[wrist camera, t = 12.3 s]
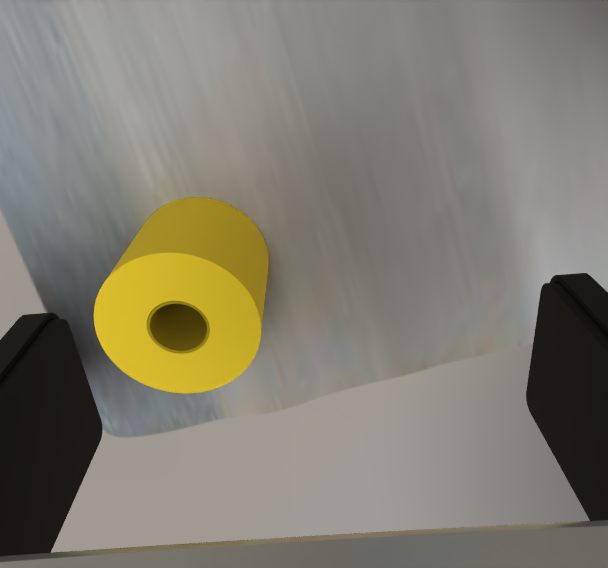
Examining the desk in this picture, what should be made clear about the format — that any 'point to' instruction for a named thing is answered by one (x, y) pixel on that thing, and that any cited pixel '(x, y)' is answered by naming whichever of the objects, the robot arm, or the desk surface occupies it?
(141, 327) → the tape roll
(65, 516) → the robot arm
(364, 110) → the desk surface
